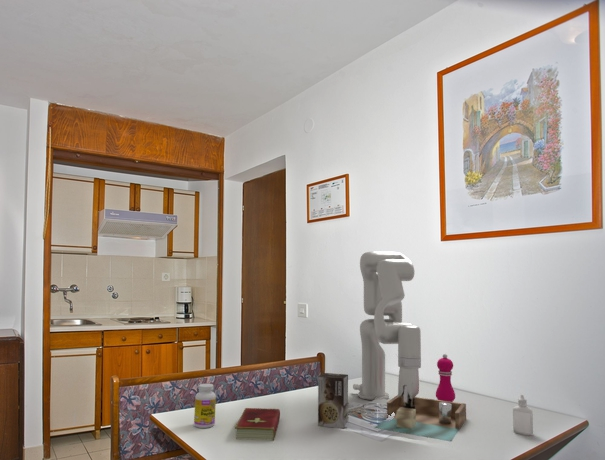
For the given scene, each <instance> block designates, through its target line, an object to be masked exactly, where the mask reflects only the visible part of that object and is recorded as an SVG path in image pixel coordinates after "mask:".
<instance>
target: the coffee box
mask: <svg viewBox="0 0 605 460" xmlns="http://www.w3.org/2000/svg"><path fill="white" fill-rule="evenodd" d="M317 384H318V385H317V395H318V396H317V397H318V398H317V426H318V427H326V428H334V429H335V428H336V429H342V430H343V429H345V428H346V424H348V422H349V374H345V373H344V374H343V373H331V372H322V373H321V374H320V375H319V376H317Z"/></svg>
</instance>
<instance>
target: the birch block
mask: <svg viewBox="0 0 605 460" xmlns="http://www.w3.org/2000/svg"><path fill="white" fill-rule="evenodd" d="M415 425H416V409H411V408H404V407H400V408H399V409H398V410H397V427H402V428H408V429H413V428H414V426H415Z"/></svg>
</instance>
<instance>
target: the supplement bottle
mask: <svg viewBox="0 0 605 460" xmlns="http://www.w3.org/2000/svg"><path fill="white" fill-rule="evenodd" d="M213 390H214V384H213V383H201V384H198V392H197V393H196V394H195V398H194V418H193V419H194V420H193V425H194V427H196V428H199V429H208V428H212V427H213V426H215V424H216V406H217V405H216V404H217V402H216V401H217V395H216V393H215V392H214V391H213Z"/></svg>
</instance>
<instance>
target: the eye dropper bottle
mask: <svg viewBox="0 0 605 460" xmlns="http://www.w3.org/2000/svg"><path fill="white" fill-rule="evenodd" d="M527 403H528V402H527V399H526V398H525V396H524V394H520V397H518V399H517V405H516V406H514V407H513V408H512V419H513V420H512V421H513V422H512V423H513V424H512V426H513V432H514V433H515V434H518V435H524V436H533V434H534V423H533V422H534V421H533V419H534V418H533V415H534V414H533V409H531V408H530V407H528V405H527Z"/></svg>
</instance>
